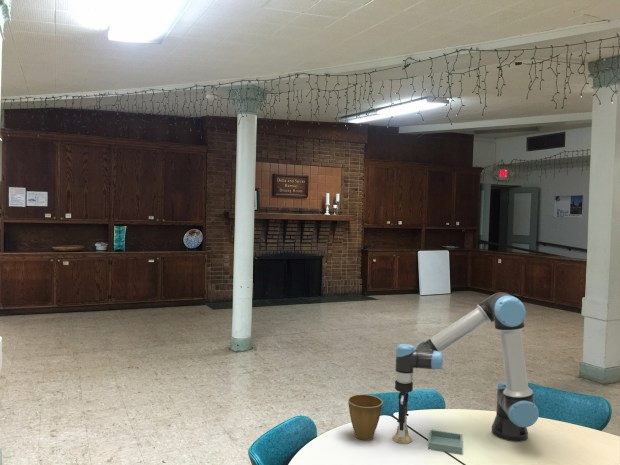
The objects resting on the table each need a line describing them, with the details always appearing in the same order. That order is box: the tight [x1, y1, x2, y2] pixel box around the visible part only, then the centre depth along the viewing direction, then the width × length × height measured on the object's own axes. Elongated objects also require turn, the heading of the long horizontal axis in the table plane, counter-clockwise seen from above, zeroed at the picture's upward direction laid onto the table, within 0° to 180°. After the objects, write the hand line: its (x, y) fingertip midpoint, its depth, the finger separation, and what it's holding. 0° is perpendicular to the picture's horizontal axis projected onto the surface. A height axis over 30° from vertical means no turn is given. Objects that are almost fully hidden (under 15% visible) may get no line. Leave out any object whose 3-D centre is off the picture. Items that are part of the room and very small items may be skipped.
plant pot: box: [347, 393, 384, 441], centre depth 222 cm, size 15×15×16 cm
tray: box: [427, 429, 463, 455], centre depth 216 cm, size 14×14×3 cm
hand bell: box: [392, 407, 413, 444], centre depth 220 cm, size 8×8×16 cm
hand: (402, 433), depth 220 cm, fingers closed on hand bell, 6 cm apart
